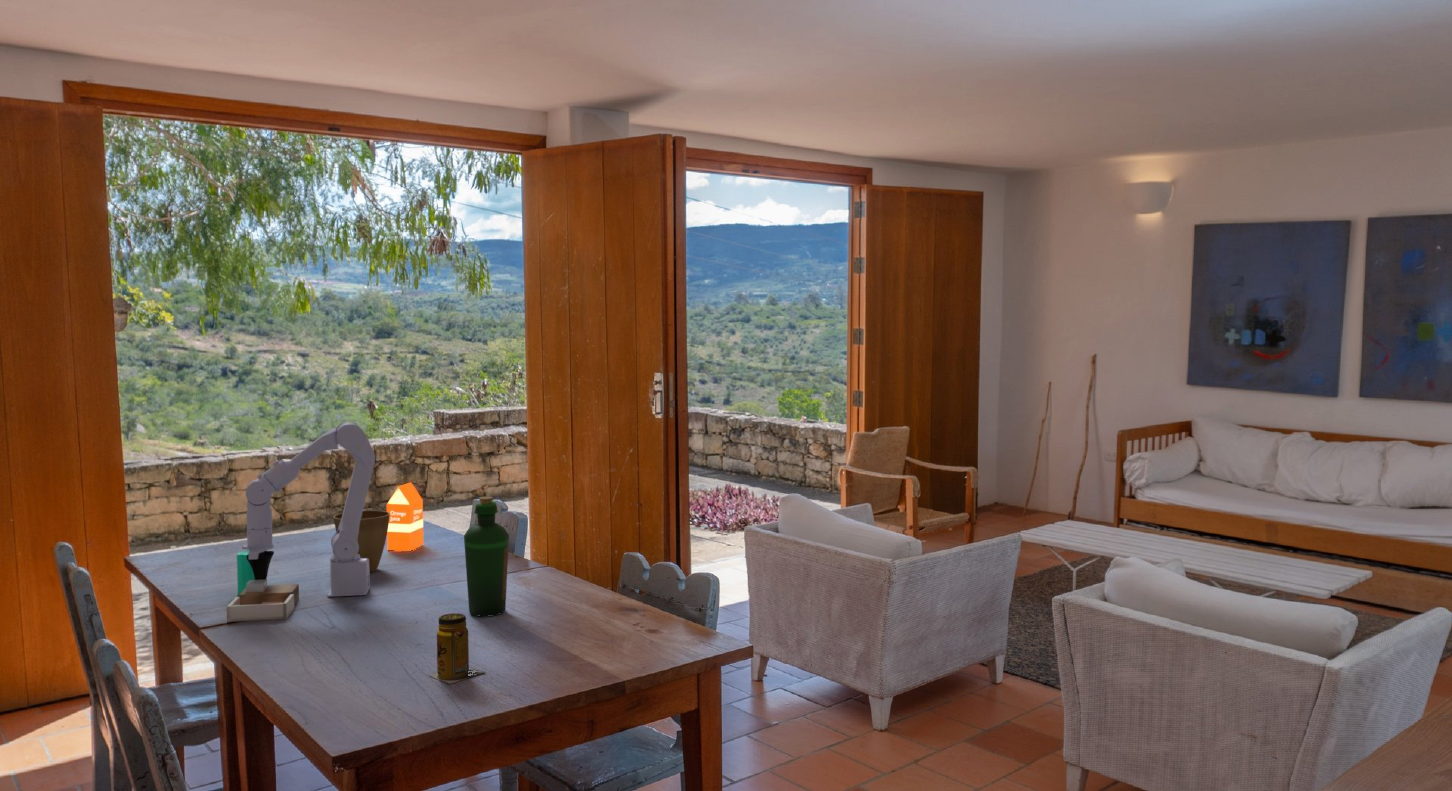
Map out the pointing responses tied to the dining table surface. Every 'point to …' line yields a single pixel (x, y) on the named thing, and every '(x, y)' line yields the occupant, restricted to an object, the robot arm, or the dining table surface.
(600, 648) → the dining table surface
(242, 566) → the candle
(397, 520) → the orange juice
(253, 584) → the grey rectangular prism
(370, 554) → the plant pot
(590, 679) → the dining table surface
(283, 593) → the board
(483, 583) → the bottle
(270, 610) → the tray
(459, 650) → the condiment
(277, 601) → the tile terracotta
